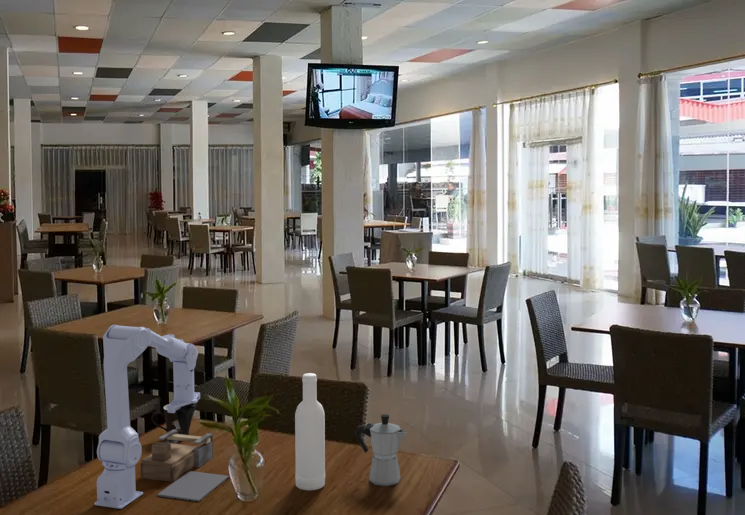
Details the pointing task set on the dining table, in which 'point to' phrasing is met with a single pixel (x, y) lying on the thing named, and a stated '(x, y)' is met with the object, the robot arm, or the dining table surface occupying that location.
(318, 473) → the bottle
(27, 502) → the dining table surface
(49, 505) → the dining table surface
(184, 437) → the bar
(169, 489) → the lid mat
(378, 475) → the coffee maker
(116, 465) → the robot arm
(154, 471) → the toolbox
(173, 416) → the coffee mug
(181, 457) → the toolbox lid
